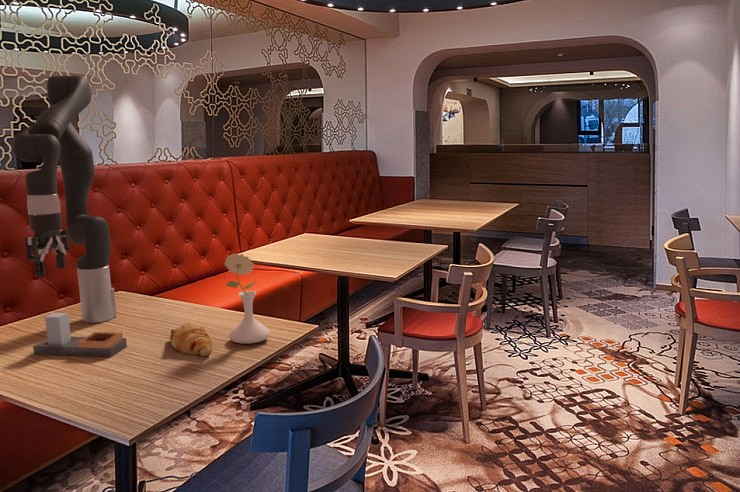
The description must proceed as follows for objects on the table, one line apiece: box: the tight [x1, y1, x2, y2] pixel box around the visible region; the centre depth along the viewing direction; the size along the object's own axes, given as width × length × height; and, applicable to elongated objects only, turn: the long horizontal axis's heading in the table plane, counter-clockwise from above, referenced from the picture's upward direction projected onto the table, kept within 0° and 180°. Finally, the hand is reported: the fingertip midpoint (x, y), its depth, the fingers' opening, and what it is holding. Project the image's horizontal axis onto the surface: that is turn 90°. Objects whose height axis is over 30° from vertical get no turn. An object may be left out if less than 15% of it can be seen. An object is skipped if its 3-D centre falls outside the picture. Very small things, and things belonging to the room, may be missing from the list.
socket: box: [32, 331, 128, 358], centre depth 160 cm, size 22×8×4 cm, turn 83°
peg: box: [44, 312, 72, 345], centre depth 160 cm, size 4×4×10 cm
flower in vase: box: [224, 252, 271, 345], centre depth 165 cm, size 13×11×25 cm
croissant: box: [169, 322, 213, 357], centre depth 161 cm, size 21×10×8 cm, turn 44°
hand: (51, 271), depth 157 cm, fingers open, 8 cm apart
